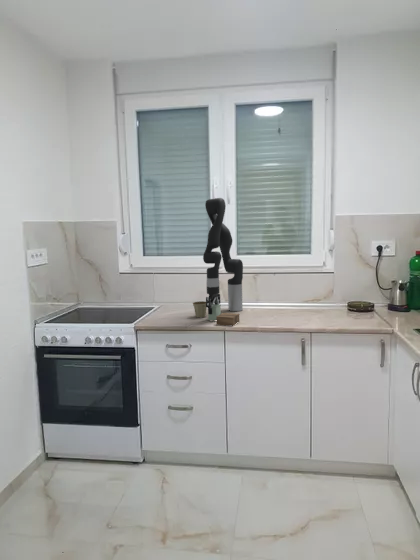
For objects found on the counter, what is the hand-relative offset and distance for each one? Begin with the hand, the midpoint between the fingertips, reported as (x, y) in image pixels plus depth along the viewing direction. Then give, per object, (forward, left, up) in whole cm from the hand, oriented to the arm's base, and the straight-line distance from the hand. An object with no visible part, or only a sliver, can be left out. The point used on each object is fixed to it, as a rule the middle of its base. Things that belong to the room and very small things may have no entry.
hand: (213, 312), depth 246 cm
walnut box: (+5, +11, -5) cm, 13 cm away
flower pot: (-5, -12, -5) cm, 14 cm away
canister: (0, 0, -4) cm, 4 cm away
